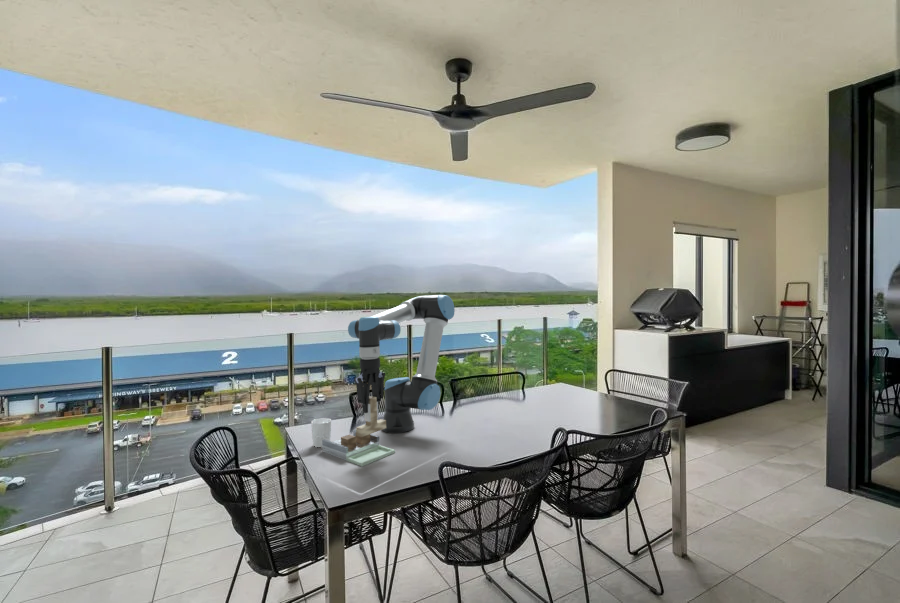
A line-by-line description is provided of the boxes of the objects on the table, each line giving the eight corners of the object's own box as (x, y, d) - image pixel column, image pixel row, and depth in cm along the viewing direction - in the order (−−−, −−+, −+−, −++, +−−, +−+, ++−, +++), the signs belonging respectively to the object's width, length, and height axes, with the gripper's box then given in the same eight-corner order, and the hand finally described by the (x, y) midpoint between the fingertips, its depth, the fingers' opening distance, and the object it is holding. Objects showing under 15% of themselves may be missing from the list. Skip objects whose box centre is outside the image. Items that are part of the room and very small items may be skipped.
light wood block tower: (381, 426, 154) (380, 393, 154) (386, 428, 152) (385, 394, 152) (356, 435, 144) (355, 400, 144) (361, 437, 143) (360, 401, 142)
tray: (379, 448, 157) (379, 445, 157) (395, 453, 151) (394, 449, 151) (346, 461, 144) (346, 457, 144) (362, 467, 139) (362, 463, 139)
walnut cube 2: (363, 439, 159) (363, 429, 159) (370, 441, 156) (370, 431, 156) (355, 442, 156) (355, 432, 156) (362, 444, 153) (362, 434, 153)
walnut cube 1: (349, 444, 153) (349, 434, 153) (356, 446, 151) (355, 436, 151) (340, 447, 150) (340, 437, 150) (347, 450, 148) (347, 439, 148)
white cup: (335, 443, 164) (335, 419, 164) (320, 449, 157) (320, 424, 157) (322, 440, 168) (322, 417, 168) (307, 446, 161) (307, 421, 161)
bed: (355, 441, 166) (355, 429, 166) (379, 448, 157) (379, 436, 157) (322, 452, 153) (322, 439, 154) (346, 461, 144) (346, 448, 144)
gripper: (359, 361, 139) (360, 427, 140) (392, 355, 152) (393, 416, 152) (346, 359, 144) (347, 423, 144) (379, 354, 157) (380, 412, 157)
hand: (371, 419), depth 148 cm, fingers closed on light wood block tower, 3 cm apart
